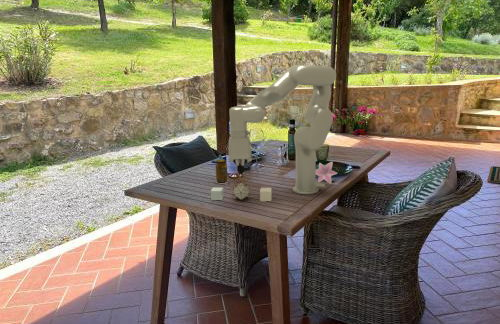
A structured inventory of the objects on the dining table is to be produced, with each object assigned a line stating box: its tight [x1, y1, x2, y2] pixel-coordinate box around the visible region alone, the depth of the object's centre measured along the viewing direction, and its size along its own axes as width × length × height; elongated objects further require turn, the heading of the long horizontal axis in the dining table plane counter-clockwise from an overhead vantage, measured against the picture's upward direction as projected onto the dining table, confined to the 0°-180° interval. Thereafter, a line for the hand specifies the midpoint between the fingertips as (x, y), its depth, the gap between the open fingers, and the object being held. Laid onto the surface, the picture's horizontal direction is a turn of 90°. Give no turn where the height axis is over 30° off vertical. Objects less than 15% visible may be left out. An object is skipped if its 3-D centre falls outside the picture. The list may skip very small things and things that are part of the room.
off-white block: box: [259, 187, 273, 202], centre depth 183 cm, size 5×5×5 cm
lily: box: [315, 161, 338, 185], centre depth 207 cm, size 12×12×10 cm
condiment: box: [215, 159, 229, 184], centre depth 209 cm, size 7×8×12 cm
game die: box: [232, 181, 251, 202], centre depth 184 cm, size 9×8×10 cm
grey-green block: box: [210, 187, 225, 201], centre depth 185 cm, size 5×5×5 cm
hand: (241, 173), depth 181 cm, fingers closed
